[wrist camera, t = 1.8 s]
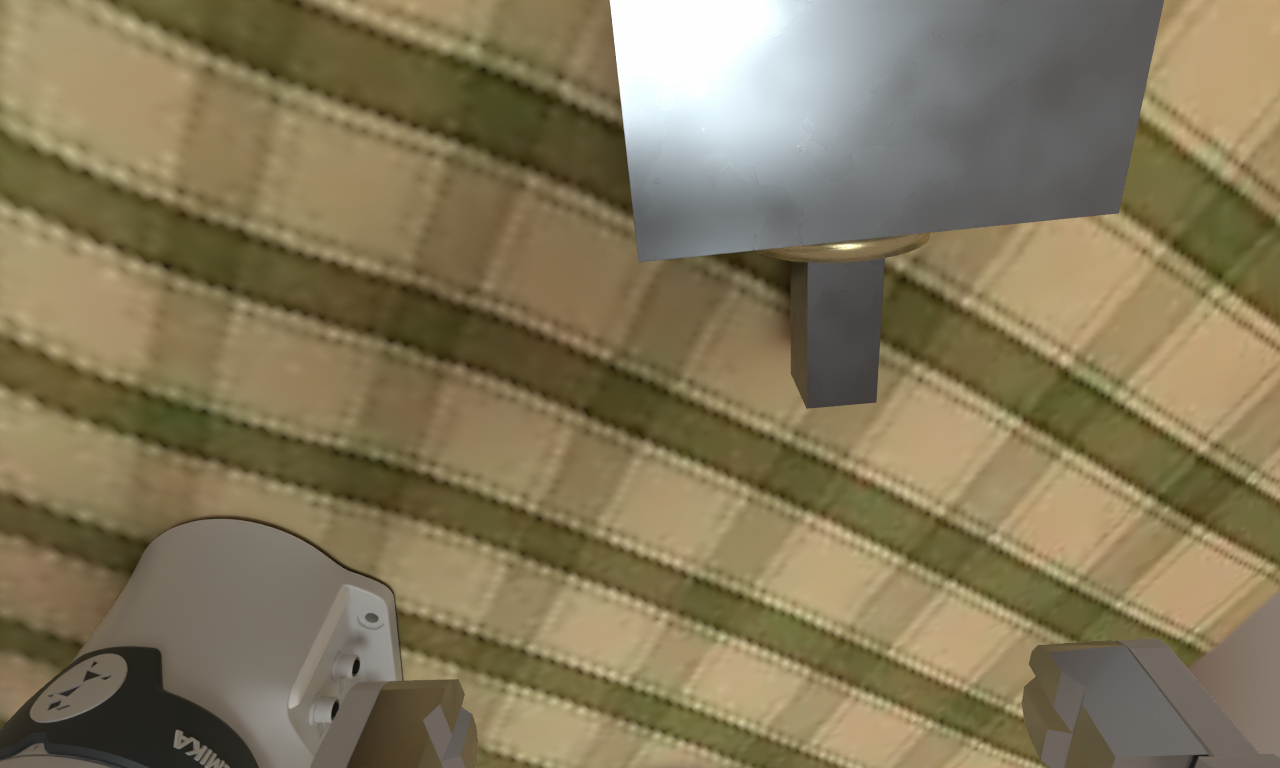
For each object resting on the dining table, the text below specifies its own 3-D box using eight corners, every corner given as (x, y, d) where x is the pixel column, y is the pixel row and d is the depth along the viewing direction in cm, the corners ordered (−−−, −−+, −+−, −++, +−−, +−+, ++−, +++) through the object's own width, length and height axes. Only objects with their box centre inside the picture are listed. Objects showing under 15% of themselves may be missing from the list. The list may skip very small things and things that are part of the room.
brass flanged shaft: (885, 349, 33) (942, 418, 27) (742, 362, 34) (765, 434, 27) (907, 6, 27) (990, -11, 20) (729, 27, 27) (754, 18, 21)
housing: (980, 167, 31) (1118, 213, 22) (640, 204, 32) (638, 262, 23) (1011, -91, 26) (1199, -167, 17) (615, -41, 27) (600, -89, 18)
